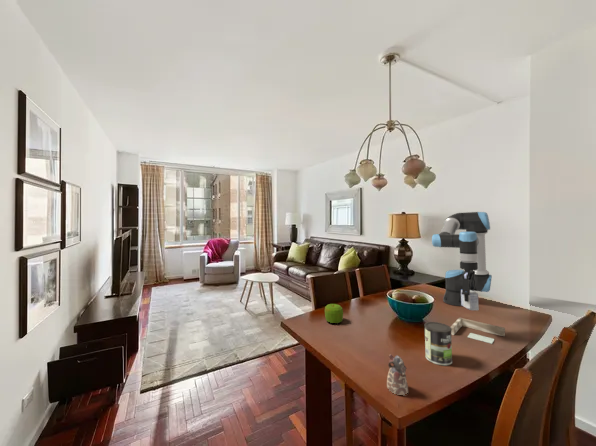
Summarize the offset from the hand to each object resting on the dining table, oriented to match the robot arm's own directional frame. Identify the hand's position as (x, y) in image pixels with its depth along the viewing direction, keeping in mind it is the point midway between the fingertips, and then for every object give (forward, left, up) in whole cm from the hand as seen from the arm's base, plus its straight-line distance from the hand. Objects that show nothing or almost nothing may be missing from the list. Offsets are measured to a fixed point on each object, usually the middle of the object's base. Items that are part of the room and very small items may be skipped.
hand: (469, 305), depth 128 cm
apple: (+33, -63, -16) cm, 73 cm away
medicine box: (0, 0, -2) cm, 2 cm away
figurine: (+65, -9, -16) cm, 68 cm away
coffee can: (+34, -5, -16) cm, 38 cm away
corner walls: (-3, +2, -16) cm, 16 cm away
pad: (0, +4, -16) cm, 16 cm away
